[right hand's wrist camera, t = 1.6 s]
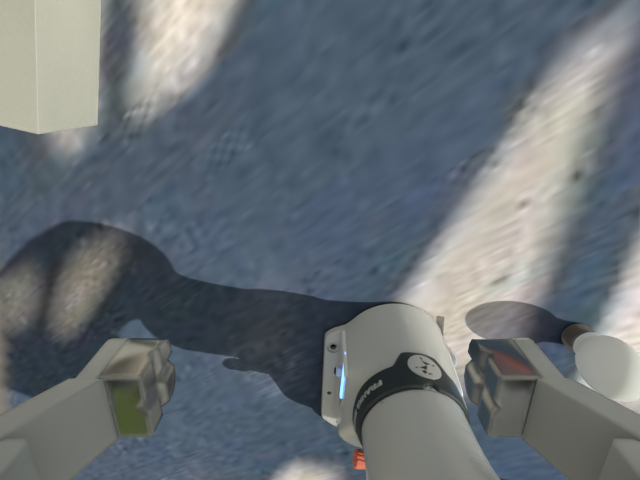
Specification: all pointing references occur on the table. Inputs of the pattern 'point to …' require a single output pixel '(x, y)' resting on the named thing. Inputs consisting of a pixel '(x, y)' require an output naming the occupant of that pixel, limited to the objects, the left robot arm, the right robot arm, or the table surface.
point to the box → (49, 64)
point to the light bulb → (605, 362)
